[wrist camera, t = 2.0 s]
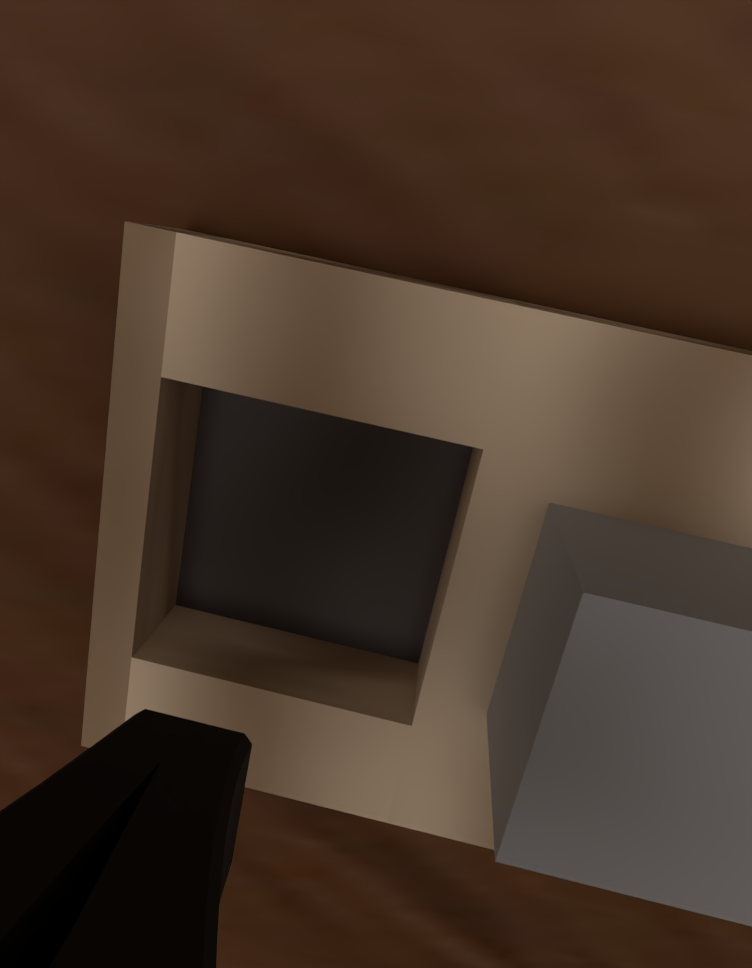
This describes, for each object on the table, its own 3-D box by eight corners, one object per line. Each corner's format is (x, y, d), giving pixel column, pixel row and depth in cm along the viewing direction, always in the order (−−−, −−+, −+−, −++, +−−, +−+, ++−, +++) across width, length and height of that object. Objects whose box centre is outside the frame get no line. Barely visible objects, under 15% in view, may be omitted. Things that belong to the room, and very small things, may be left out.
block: (805, 561, 14) (940, 674, 10) (715, 769, 15) (800, 939, 11) (549, 502, 14) (583, 592, 10) (486, 714, 15) (495, 862, 12)
